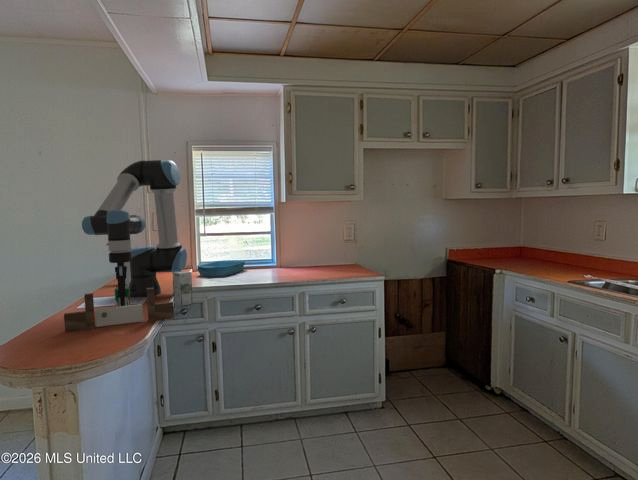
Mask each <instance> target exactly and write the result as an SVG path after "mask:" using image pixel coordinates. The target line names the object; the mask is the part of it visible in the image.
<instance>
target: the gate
mask: <svg viewBox="0 0 638 480" xmlns="http://www.w3.org/2000/svg"><path fill="white" fill-rule="evenodd" d="M143 310H144V309H143V303H140V304H139V303H138V304H130V305H128V306H119V307H115V306H113V307H111V306H110V307H103V308H102V307H101V308H95V327H96V328H99V327H106V326H115V325H123V324H129V323H138V322H139V323H140V322H143V321H144V311H143Z"/></svg>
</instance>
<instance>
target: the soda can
mask: <svg viewBox="0 0 638 480" xmlns="http://www.w3.org/2000/svg"><path fill="white" fill-rule="evenodd" d="M125 288H126V298H127V306H128V305H131V296H130V290H129V285H125ZM120 294H121V293H120ZM116 296H118V285H116V286H115V288H114V305H115V306H114V307H119V301H118V298H116Z"/></svg>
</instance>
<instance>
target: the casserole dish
mask: <svg viewBox="0 0 638 480" xmlns="http://www.w3.org/2000/svg"><path fill="white" fill-rule="evenodd" d="M245 263H246V261H245V260H237V259H235V260H233V259H232V260H217V261H212V262H207V263H203V264H199V265H196V268H197V271H198V274H199V275H200V276H202V277H208V278H211V277H212V278H213V277H214V278H220V277H221V278H223V277H227V276H231V275H234V274H238V273H240V272H242V270H244V266H245Z"/></svg>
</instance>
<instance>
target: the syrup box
mask: <svg viewBox="0 0 638 480" xmlns="http://www.w3.org/2000/svg"><path fill="white" fill-rule="evenodd" d="M192 276H193V275H192V271H190V270H189V271H188V270H182V271H180V272H172V289H173V290H172V291H173V306H175V307H180V308H182V307H188V306H192V305H193V278H192Z"/></svg>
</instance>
